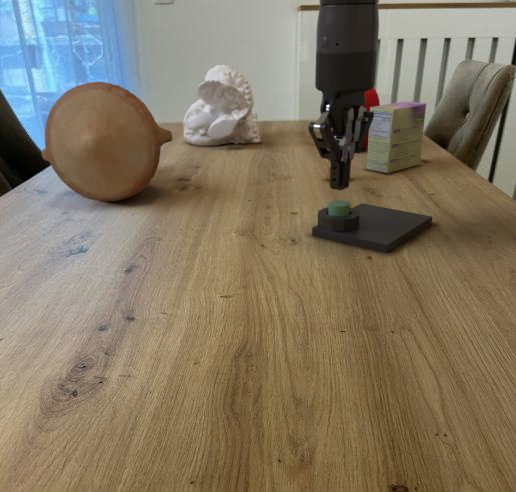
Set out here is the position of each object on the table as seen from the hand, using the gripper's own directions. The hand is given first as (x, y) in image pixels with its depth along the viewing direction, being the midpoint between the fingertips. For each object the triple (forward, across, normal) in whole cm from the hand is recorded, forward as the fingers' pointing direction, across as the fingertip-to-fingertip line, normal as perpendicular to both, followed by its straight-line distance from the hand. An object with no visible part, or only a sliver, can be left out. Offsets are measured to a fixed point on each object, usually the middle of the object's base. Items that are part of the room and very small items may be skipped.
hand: (339, 188), depth 77 cm
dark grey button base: (+6, +4, -4) cm, 8 cm away
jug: (+7, -2, +46) cm, 47 cm away
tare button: (+4, 0, 0) cm, 4 cm away
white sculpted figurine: (+7, +39, +58) cm, 71 cm away
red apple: (+7, +50, +27) cm, 58 cm away
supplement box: (+7, +25, +15) cm, 30 cm away
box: (+7, +39, +11) cm, 41 cm away
